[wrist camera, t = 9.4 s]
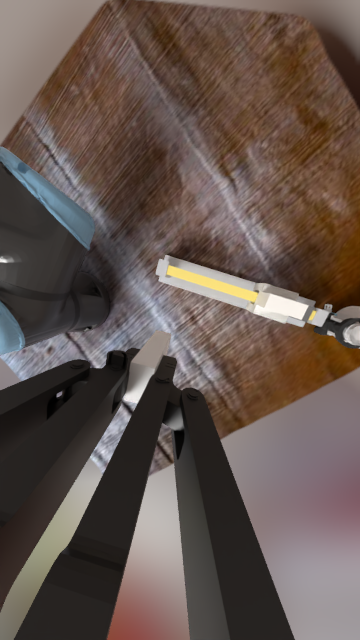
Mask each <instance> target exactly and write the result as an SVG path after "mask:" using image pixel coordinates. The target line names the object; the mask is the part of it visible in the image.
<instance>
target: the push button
mask: <svg viewBox="0 0 360 640" xmlns="http://www.w3.org/2000/svg"><path fill="white" fill-rule="evenodd" d="M326 306H328V307H326ZM329 306H330V308H329ZM331 309H332V305H329V304H325V307H324V309H323V310H325V311H328V312H329V314H328V316H327V318H326V320H325V322H324V323H323V325H322V327H320V326H317V327H316V328H314V332H316V333H318V334H320V335H333V336H335V338H336V339H337V340H338V342H340V343H341V344H342V345H344V346H346V347H348V348H360V318H348V319H341V318H338V317H337V314H336V313H332V310H331ZM356 322H359V323H356ZM344 340H345V341H347V342H345V341H344Z"/></svg>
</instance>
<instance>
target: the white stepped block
mask: <svg viewBox="0 0 360 640" xmlns="http://www.w3.org/2000/svg"><path fill="white" fill-rule="evenodd" d="M253 292H256V293H258V296H257V298H256V300H255V302H252V301H248V303H247V306H246V308H245V309H247V310H249V311H250V312H252V313H254V314H257V315H260V316H263V317H266V318H270V319H273V320H276V321H279V322H282V323H285V322H286V320H287V318H288V316H290V317H294V318H297V319H300V320H302V318H303V316H304V314H305V312H306V310H307V308H308V306H309V305H306V304H302V303H299V302H296V299H297V297H298V295H299V293H295V292H292V291H289V290H286V289H282V288H279V287H276V286H273V285H270V284H266V283H256V284H255V286H254V289H253Z"/></svg>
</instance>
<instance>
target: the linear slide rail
mask: <svg viewBox="0 0 360 640" xmlns="http://www.w3.org/2000/svg"><path fill="white" fill-rule="evenodd" d="M169 265H170V266H173V267H176V268H180V269H183V270H186V271H189V272H192V273H195V274H199V275H202V276H205V277H208V278H211V279H215V280H218V281H221V282H224V283H227V284H231V285H234V286H237V287H240V288H243V289H246V290H250V291H253V289H254V286H255V284H256V283H255V282H251V281H248V280H245V279H242V278H239V277H235V276H232V275H229V274H226V273H222V272H219V271H216V270H213V269H210V268H206V267H203V266H200V265H197V264H193V263H190V262H187V261H184V260H181V259H177V258H174V257H171V256H168V255H165V258H164V260H162V259H159V263H158V266H157V270H156V274H157V275H160V277H159V281H160V282H163V283H166V284H169V285H172V286H175V287H179V288H182V289H185V290H188V291H191V292H194V293H197V294H200V295H204V296H207V297H210V298H213V299H216V300H219V301H222V302H225V303H229V304H232V305H235V306H238V307H241V308H244V309H245V308H246V306H247V303H248V301H249V300H246V299H243V298H239V297H236V296H233V295H230V294H227V293H224V292H221V291H217V290H214V289H211V288H208V287H205V286H202V285H198V284H195V283H192V282H189V281H186V280H183V279H180V278H176V277H173V276H170V275H167V274H166V273H167V269H168V266H169ZM296 302H299V303H303V304H306V305H309V306H312V307H313V306H314V304H315V302H316V301H313V300H309V299H306V298H303V297H300V296H298V297H297V299H296ZM313 311H317V312H316V313H315V315H314V317H313V319H312V320H309V319H308V321H307V322H308V323H311V324H314V325H317V326H320V327H322V325H323V323H324V322H325V320H326V318H327V316H328V314H329V312H328V311H325V310H322V309H318V308H314V310H313ZM286 322H288V323H291V324H294V325H297V326H300V327H303V326H304V324H305V322H304V321H301V320H298V319H294V318H292V317H289V316H288V318H287V320H286Z"/></svg>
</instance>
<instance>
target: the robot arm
mask: <svg viewBox="0 0 360 640" xmlns="http://www.w3.org/2000/svg"><path fill="white" fill-rule="evenodd" d="M94 232H95V222H94V220H93V218H92V217H91V216H90V214H88V213H87V212H86V211H85V210H84V209H83V208H81V207H80V206H79V205H78V204H77V203H75V202H74V201H73V200H72V199H70V198H69V197H68V196H67V195H65V194H64V193H63V192H62V191H60V190H59V189H58V188H56V187H55V186H54V185H53V184H51V183H50V182H49V181H48V180H46V179H45V178H44V177H42V176H41V175H40V174H38V173H37V172H36V171H35V170H33V169H32V168H31V167H29V166H28V165H27V164H25V163H24V162H23V161H21V160H20V159H19V158H18V157H17V156H15V155H14V154H13V153H11V152H10V151H9V150H7V149H6V148H4V147H0V355H3V354H6V353H9V352H12V351H19V350H21V349H23V348H25V347H28V346H30V345H33V344H36V343H38V342H41V341H43V340H46V339H49V338H51V337H54V336H57V335H59V334H62V333H65V332H87V331H90V330H93V329H95V328H97V327H99V326H100V325H102V324H103V323H104V321H105V320H106V318H107V316H108V314H109V309H110V301H109V296H108V293H107V291H106V289H105V287H104V286H103V284H102V283H101V282H100V281H99V280H98V279H97V278H96V277H94V276H93V275H91V274H89V273H86V272H80V271H79V269H80V267H81V265H82V263H83V261H84V258H85V256H86V254H87V252H88V250H90V243H91V240H92V238H93V235H94ZM170 338H171V334H170V333H166V332H162V331H158V330H156V331H155V333H154V334H153V335H152V336H151V338H150V339H149V340H148V341H147V343H146V344H145V345H144V346H143V348H142V349H141V350H140V349H136V348H131V349H128V350H127V351H126V352H124V351H119V350H114V351H110V352H108V353H107V360H106V365H105V366H104V367H103V368H90V366H91V365H90V363H89V362H88V361H86V360H81V359H78V360H72V361H69V362H67V363H64V364H62V365H59V366H57V367H55V368H52V369H50V370H48V371H45V372H43V373H41V374H38V375H36V376H33V377H31V378H29V379H26V380H24V381H22V382H19V383H17V384H15V385H12V386H10V387H7V388H5V389H3V390H0V612H1V609H2V607H3V604H4V602H5V599H6V597H7V594H8V593H9V591H10V589H11V587H12V585H13V583H14V581H15V579H16V578H17V576H18V575H19V573H20V571H21V569H22V568H23V566H24V565H25V563H26V561H27V560H28V558H29V556H30V555H31V553H32V551H33V549H34V548H35V546H36V545H37V543H38V542H39V540H40V538H41V536H42V535H43V533H44V531H45V530H46V528H47V527H48V525H49V523H50V521H51V520H52V518H53V517H54V515H55V513H56V511H57V510H58V508H59V507H60V505H61V503H62V502H63V500H64V498H65V497H66V495H67V493H68V492H69V490H70V488H71V487H72V485H73V483H74V482H75V480H76V479H77V477H78V475H79V474H80V472H81V470H82V469H83V467H84V465H85V464H86V462H87V460H88V459H89V457H90V456H91V454H92V452H93V451H94V449H95V447H96V446H97V444H98V442H99V441H100V439H101V437H102V436H103V434H104V432H105V431H106V429H107V427H108V426H109V424H110V423H111V421H112V419H113V418H114V416H115V414H116V413H117V411H118V409H119V408H120V406H121V403H122V398H123V396H124V395H125V399H124V400H127V401H130V402H134V403H138V404H137V406H136V408H135V410H134V412H133V414H132V416H131V418H130V420H129V422H128V425H127V427H126V429H125V431H124V433H123V435H122V437H121V439H120V441H119V443H118V445H117V447H116V449H115V451H114V453H113V455H112V457H111V459H110V461H109V463H108V466H107V468H106V470H105V472H104V474H103V476H102V478H101V480H100V482H99V484H98V486H97V488H96V490H95V492H94V494H93V496H92V498H91V500H90V502H89V505H88V507H87V509H86V511H85V513H84V515H83V517H82V519H81V521H80V523H79V525H78V527H77V529H76V531H75V533H74V535H73V537H72V539H71V541H70V543H69V544H68V546H67V547H66V548H65V549H64V550H63V551H62V552H61V553H60V554H59V556H58V557H57V559H56V560H55V562H54V564H53V565H52V567H51V569H50V571H49V573H48V574H47V576H46V578H45V580H44V582H43V584H42V586H41V587H40V589H39V591H38V593H37V595H36V597H35V599H34V601H33V603H32V605H31V607H30V609H29V611H28V613H27V615H26V617H25V619H24V621H23V623H22V625H21V627H20V628H19V630H18V632H17V634H16V637H15V638H14V640H107V638H108V634H109V629H110V625H111V622H112V618H113V614H114V610H115V606H116V602H117V597H118V594H119V590H120V586H121V582H122V578H123V574H124V570H125V567H126V563H127V558H128V555H129V550H130V547H131V543H132V539H133V535H134V531H135V527H136V523H137V519H138V515H139V511H140V507H141V503H142V499H143V495H144V491H145V487H146V484H147V480H148V476H149V472H150V468H151V464H152V460H153V456H154V452H155V448H156V444H157V440H158V436H159V432H160V428H161V424H162V423H164V424H165V425H167V426H169V427H170V428H172V431H171V433H172V444H173V455H174V466H175V477H176V488H177V499H178V510H179V521H180V532H181V543H182V554H183V565H184V575H185V586H186V598H187V609H188V621H189V630H190V631H189V632H190V640H295V639H294V636H293V634H292V631H291V629H290V626H289V623H288V620H287V618H286V615H285V612H284V610H283V607H282V604H281V602H280V599H279V597H278V594H277V591H276V588H275V586H274V583H273V580H272V578H271V575H270V572H269V570H268V567H267V564H266V561H265V559H264V556H263V553H262V551H261V548H260V545H259V543H258V540H257V537H256V535H255V532H254V530H253V527H252V524H251V521H250V518H249V516H248V513H247V510H246V508H245V505H244V502H243V500H242V497H241V494H240V492H239V489H238V487H237V484H236V481H235V478H234V476H233V473H232V470H231V468H230V465H229V462H228V460H227V457H226V454H225V451H224V449H223V447H222V443H221V441H220V438H219V435H218V433H217V430H216V427H215V425H214V422H213V419H212V417H211V414H210V411H209V409H208V406H207V403H206V401H205V398H204V396H203V394H202V393H201V392H200V391H198V390H196V389H194V388H185V389H183V390H180V389H178V388H177V387H176V386H175V385H174V384H173V376H174V372H175V368H176V364H177V361H176V358H173V357H169V356H167V352H168V347H169V343H170ZM61 391H62V395H61V396H60V397H56V395H57V393H59V392H61Z"/></svg>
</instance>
